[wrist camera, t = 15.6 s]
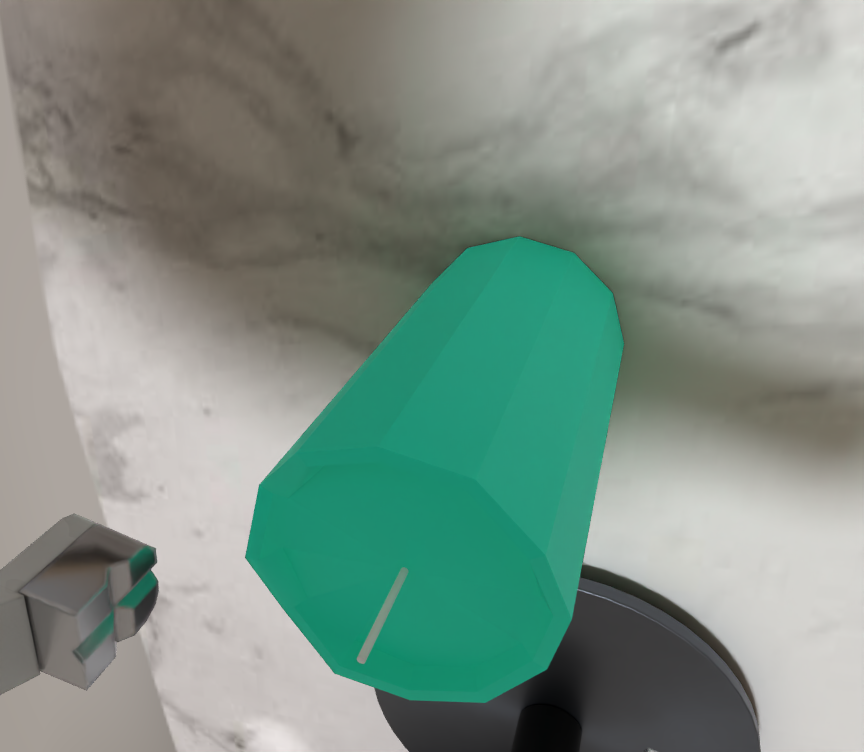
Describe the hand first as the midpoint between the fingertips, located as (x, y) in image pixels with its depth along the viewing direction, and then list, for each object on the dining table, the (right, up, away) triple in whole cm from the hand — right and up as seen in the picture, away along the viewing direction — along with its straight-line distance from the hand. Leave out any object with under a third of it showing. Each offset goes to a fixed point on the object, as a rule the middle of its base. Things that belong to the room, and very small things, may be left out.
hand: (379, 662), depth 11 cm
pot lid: (+6, -9, +16) cm, 19 cm away
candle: (+3, +6, +10) cm, 12 cm away
